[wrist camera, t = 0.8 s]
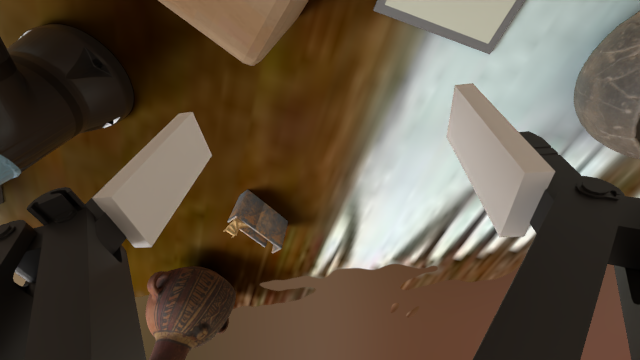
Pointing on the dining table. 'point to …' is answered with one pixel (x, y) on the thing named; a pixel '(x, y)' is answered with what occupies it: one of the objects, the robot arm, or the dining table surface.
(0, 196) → the lantern
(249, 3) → the wooden block
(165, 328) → the vase
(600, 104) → the bowl
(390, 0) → the mat
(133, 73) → the dining table surface
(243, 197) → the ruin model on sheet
